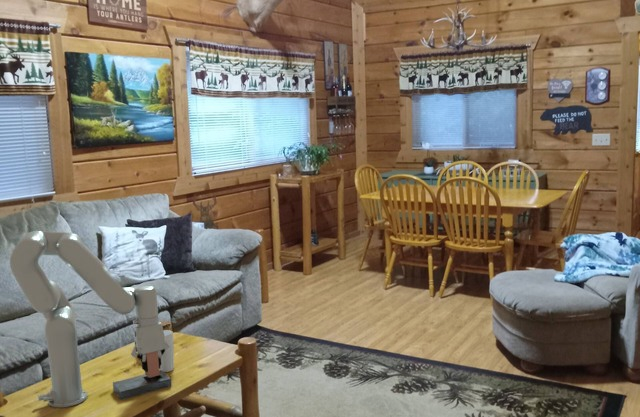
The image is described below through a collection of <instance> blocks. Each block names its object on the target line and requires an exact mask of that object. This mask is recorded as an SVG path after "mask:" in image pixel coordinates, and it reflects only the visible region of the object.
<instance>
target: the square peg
mask: <svg viewBox="0 0 640 417" xmlns="http://www.w3.org/2000/svg"><path fill="white" fill-rule="evenodd" d="M146 361H147V367H148V372H145V371H144V372H145V373H144V374H145V375H146V376H147V377H148V378H150V377H154V376H158V375H160V372H159V371H160V369H159V361H158V351H156V352H152V353H148V354H146Z"/></svg>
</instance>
